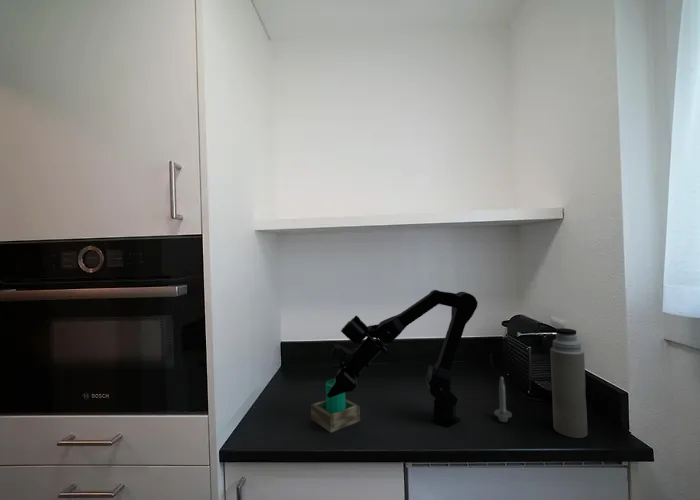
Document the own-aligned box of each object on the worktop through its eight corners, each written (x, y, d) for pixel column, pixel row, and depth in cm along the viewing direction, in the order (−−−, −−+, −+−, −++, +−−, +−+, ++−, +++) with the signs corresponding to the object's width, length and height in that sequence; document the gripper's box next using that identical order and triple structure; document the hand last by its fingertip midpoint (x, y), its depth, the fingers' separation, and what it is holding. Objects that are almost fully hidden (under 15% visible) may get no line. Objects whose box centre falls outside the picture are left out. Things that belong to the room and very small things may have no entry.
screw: (503, 425, 100) (490, 418, 105) (515, 421, 102) (502, 415, 107) (502, 380, 100) (489, 375, 105) (514, 377, 102) (501, 372, 107)
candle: (330, 411, 111) (329, 373, 111) (348, 413, 109) (347, 375, 109) (323, 419, 105) (322, 380, 105) (342, 422, 103) (340, 381, 103)
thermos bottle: (579, 424, 100) (574, 326, 100) (593, 438, 92) (588, 332, 92) (549, 422, 101) (545, 326, 101) (560, 437, 93) (556, 332, 94)
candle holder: (339, 409, 114) (339, 395, 114) (360, 420, 106) (359, 406, 106) (311, 419, 108) (310, 404, 108) (330, 432, 99) (330, 416, 99)
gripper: (347, 329, 116) (316, 362, 117) (342, 343, 98) (305, 383, 98) (372, 352, 115) (340, 386, 116) (371, 371, 97) (333, 411, 97)
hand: (330, 390), depth 107 cm, fingers open, 9 cm apart
